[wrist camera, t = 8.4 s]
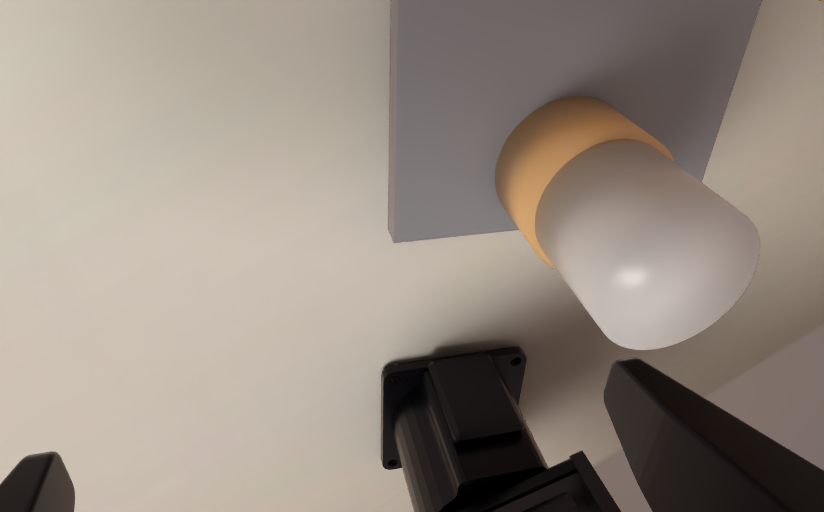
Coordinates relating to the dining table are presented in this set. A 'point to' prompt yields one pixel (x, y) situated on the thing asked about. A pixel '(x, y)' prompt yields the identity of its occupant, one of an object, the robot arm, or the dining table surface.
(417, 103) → the junction plate
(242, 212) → the dining table surface
